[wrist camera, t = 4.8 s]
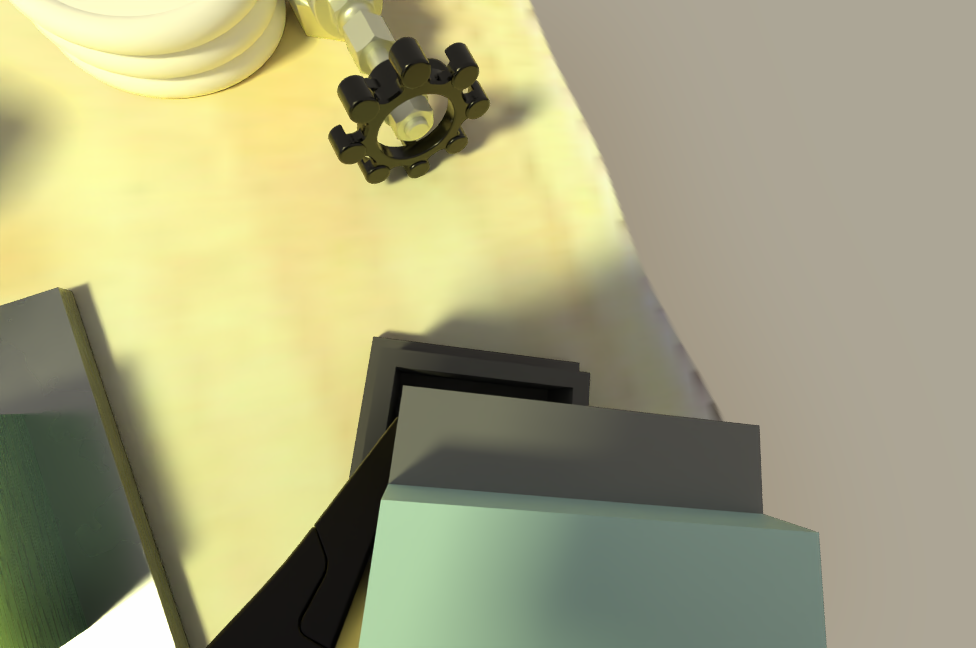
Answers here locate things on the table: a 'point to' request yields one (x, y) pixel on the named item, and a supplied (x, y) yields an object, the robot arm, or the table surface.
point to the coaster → (162, 40)
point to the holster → (456, 381)
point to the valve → (393, 89)
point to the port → (70, 497)
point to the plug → (582, 533)
